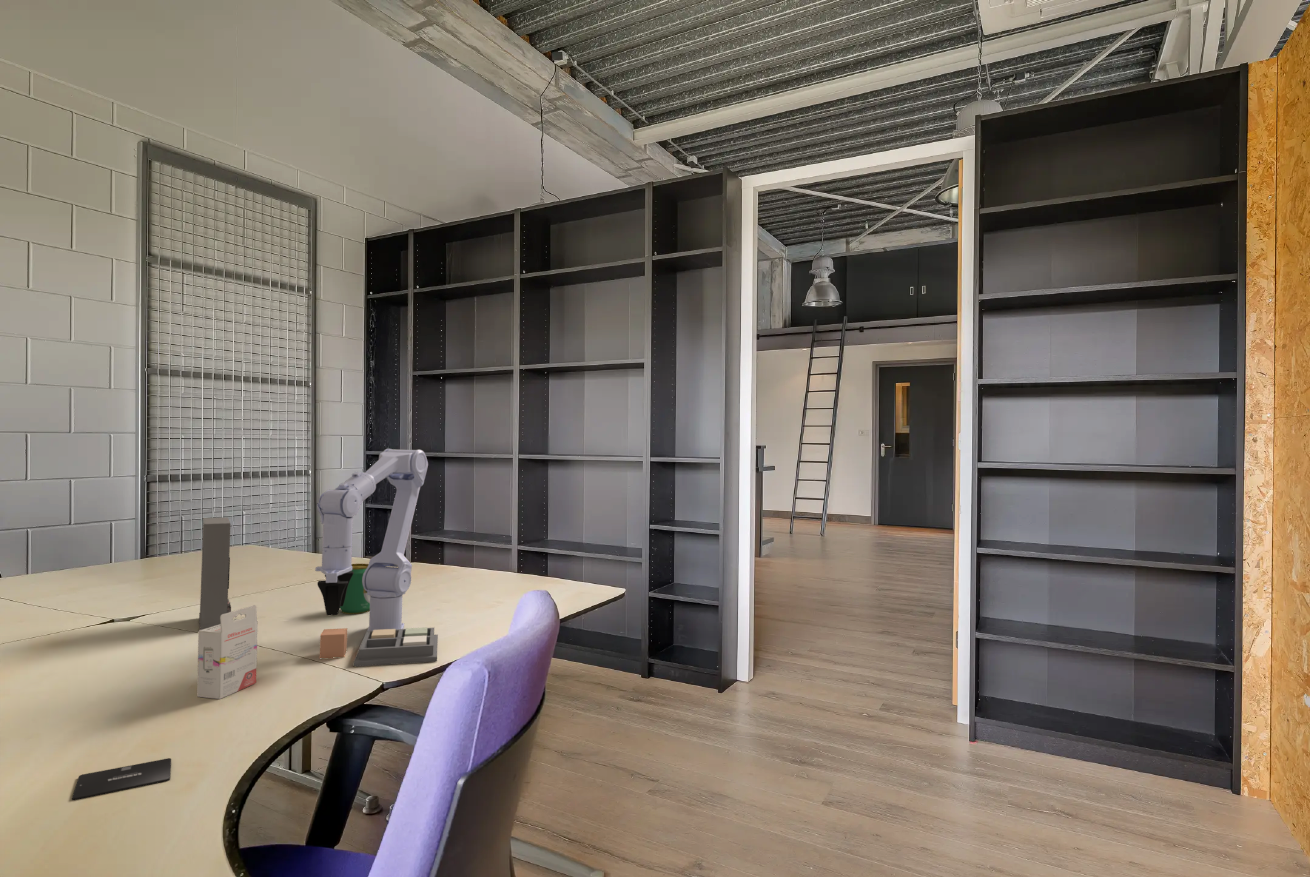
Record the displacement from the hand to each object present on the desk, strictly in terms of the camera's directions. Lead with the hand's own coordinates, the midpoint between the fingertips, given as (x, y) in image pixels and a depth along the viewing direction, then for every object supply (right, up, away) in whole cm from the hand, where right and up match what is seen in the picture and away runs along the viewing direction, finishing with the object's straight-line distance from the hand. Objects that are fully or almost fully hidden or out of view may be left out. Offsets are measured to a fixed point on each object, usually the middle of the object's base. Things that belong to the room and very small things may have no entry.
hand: (335, 610), depth 145 cm
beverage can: (-12, -10, +37) cm, 40 cm away
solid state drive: (-3, -9, -54) cm, 55 cm away
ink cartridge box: (-9, -9, -22) cm, 25 cm away
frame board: (+12, -10, +3) cm, 16 cm away
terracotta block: (0, -10, 0) cm, 10 cm away
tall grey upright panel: (-39, -9, +21) cm, 46 cm away
